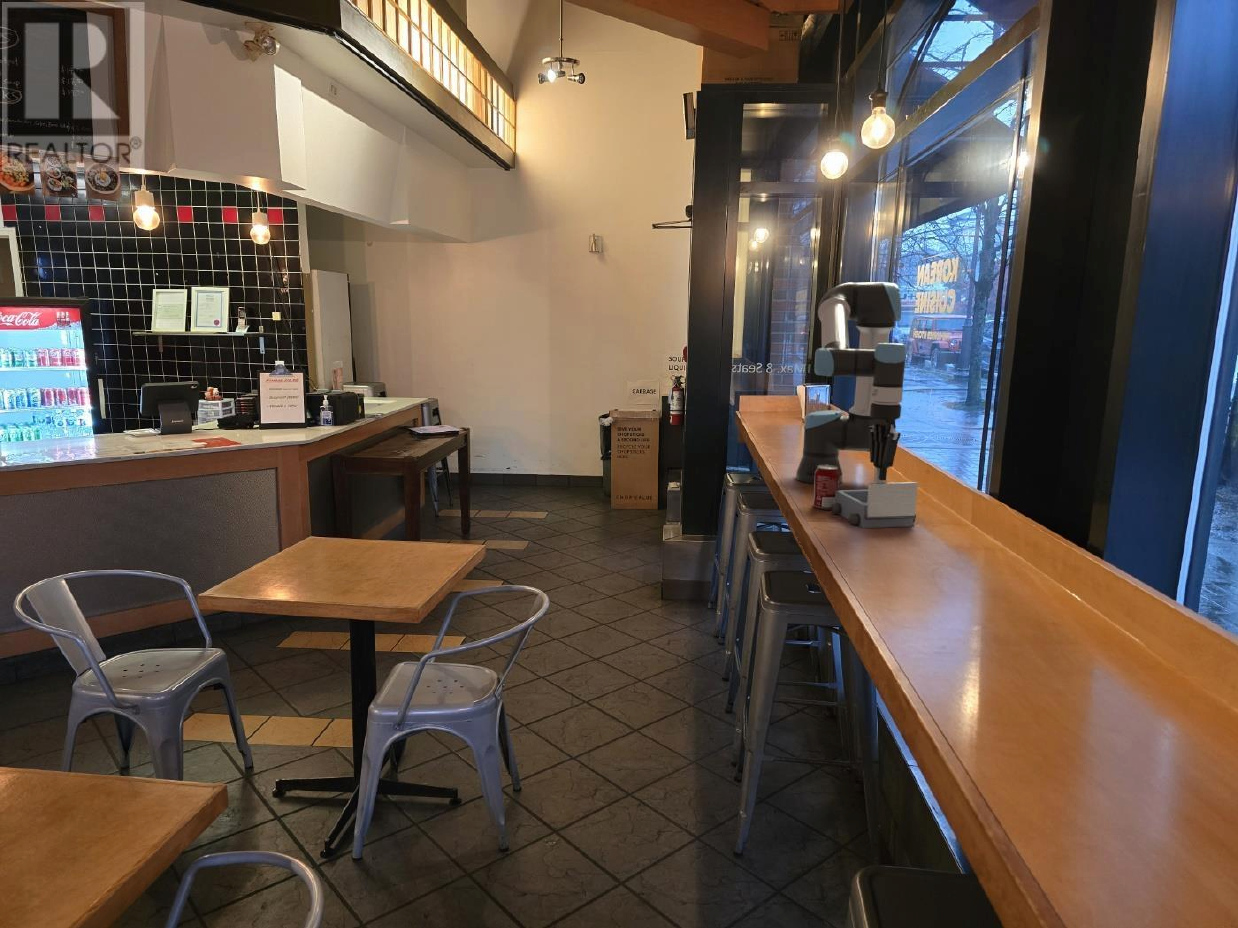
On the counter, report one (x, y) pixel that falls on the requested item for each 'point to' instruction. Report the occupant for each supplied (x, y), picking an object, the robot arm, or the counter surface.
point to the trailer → (861, 510)
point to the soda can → (825, 486)
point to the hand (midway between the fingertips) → (878, 491)
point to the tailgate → (891, 501)
